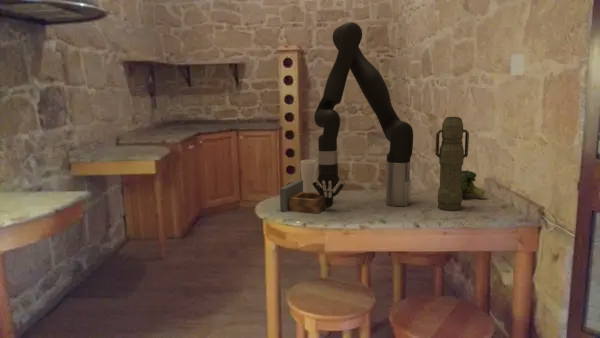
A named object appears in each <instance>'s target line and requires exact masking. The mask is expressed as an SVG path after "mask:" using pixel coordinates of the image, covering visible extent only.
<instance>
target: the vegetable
mask: <svg viewBox="0 0 600 338" xmlns="http://www.w3.org/2000/svg"><path fill="white" fill-rule="evenodd" d="M476 177H477V174H476V173H475V172H473V171H471V170H462V175H461V190H462V196H466V195H467V196H469V195H470V196H471V195H472V196H476V197H477V198H478V199H480V200H482V199H483V198H484V196H485V193H486V190H485V189H483V188H481V187H477V186H476V185H475V183H474V182H476Z"/></svg>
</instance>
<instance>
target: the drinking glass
mask: <svg viewBox="0 0 600 338" xmlns="http://www.w3.org/2000/svg"><path fill="white" fill-rule="evenodd" d="M299 167H300V178H301V179H300V180H303V192H313V193H316V192H315V191H316V189H315V187H314V186H313V183H314V182H316V173H317V163H316V160H315V159H302V160H300V166H299Z"/></svg>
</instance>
